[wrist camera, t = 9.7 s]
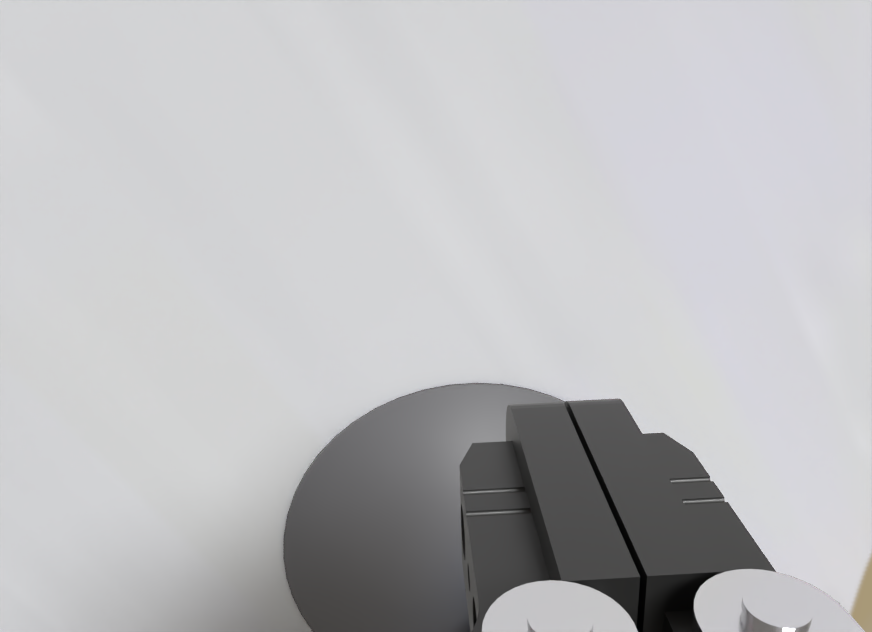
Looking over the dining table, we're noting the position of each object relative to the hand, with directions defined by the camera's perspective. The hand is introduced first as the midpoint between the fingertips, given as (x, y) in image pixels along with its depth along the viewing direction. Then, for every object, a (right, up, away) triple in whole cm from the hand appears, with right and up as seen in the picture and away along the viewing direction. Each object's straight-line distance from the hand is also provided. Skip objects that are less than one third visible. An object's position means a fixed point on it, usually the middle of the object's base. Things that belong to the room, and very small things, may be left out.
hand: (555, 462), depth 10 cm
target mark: (0, -7, +19) cm, 20 cm away
